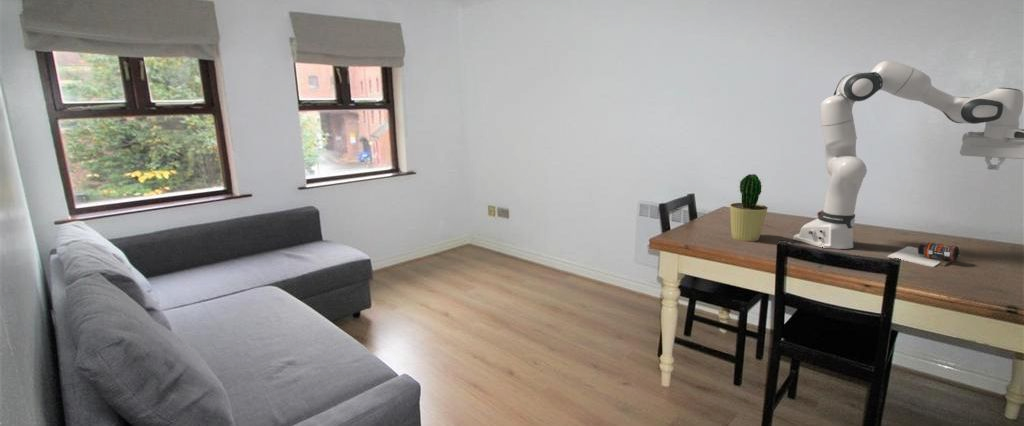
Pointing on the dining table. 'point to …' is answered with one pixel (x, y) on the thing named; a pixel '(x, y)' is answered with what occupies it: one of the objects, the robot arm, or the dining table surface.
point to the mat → (915, 257)
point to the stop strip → (944, 262)
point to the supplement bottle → (939, 251)
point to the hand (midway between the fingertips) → (992, 169)
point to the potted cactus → (748, 211)
